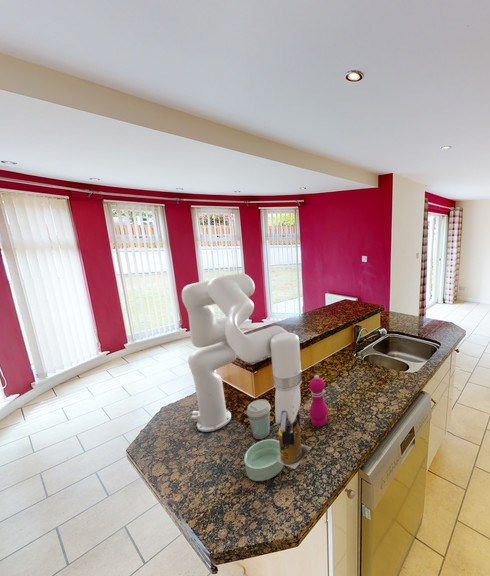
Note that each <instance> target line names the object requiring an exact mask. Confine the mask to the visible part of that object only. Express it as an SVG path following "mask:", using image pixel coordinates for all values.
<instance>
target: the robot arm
mask: <svg viewBox="0 0 490 576" xmlns="http://www.w3.org/2000/svg"><path fill="white" fill-rule="evenodd" d="M255 289H256V286H255V283H254V280H253V279H252V277H251V276H250V275H248V274H246V273H243V272H241V273H233V274H227V275H219V276H217V277H214V278H212V279H211V280H205V281H197V282H194V283H193V282H192V283H191V284H190V283H189V284H187V285H185V286H183V289H182V290H181V301H182V303H183V305H184V307H185V309H186V311H187V315H188V324H189V334H190V341H191V344H192V345H193V347H195V348H199V349H197V350H194V351H193V352H191V354H190V355H189V356H188V359H187V363H188V366H189V369H190V371H191V375H192V378H193V383H194V388H195V394H196V401H197V406H198V410H193V411H191V420H197V422H196V428H197V430H199V431H200V432H202V433H203V432H204V433H209V432H214V431H217V430H219V429H220V430H221V429H222V428H223V427H225V426H227V424H228V423H229V422H230V421H231V419H232V413H231V411H229V410H228V409H227V405H226V398H225V393H224V392H225V391H224V384H223V378H222V377H221V375H219V374H218V373H216V372H215V371H216V370H218V369H220V368H222V367H225V366H227V365H231V364H232V363H234V362H235V361H236V360H237V358H239V359H240V360H241V361H243V362H245V363H248V364H249V363H255V362H257V361H260V360H262V359H264V358H267V357H269V356H270V357H271V368H272V377H273V387H274V388H275V391H274V392H275V394H274V410H275V411H274V415H275V423H276V424H278V425H279V424H280V421H281V427H280V432H281V433H282V441H283V444H284V445H294V443H295V440H294V431H293V422H294V421H295V418H296V417H297V419H298V425H299V427H300V428H301V415H300V408H301V407H300V406H301V402H302V400H301V399H302V397H301V385H302V383H303V377H302V363H301V346H300V338H299V336H298V335H297V334H296V333H294V332H288V331H287V330H286V329H284V327H281V326H279V325H272V326H269V327H266V328H263V329H260V330H256V331H254V332H251V333H248V334H245V333H244V332H243V330H241V328H240V326H242V324H243V323H244V322H245V321H247V320H248V319H249V318H250V317H251V315H252V314H253V312H254V309H255V304H254V302H253V301H252V300H251V298H250V297H252V295H253V294H254V293H255ZM212 305H216V306H217V307H218V308H219V309H220V310H221V312H222V313H223V314H224V315H225V316H219V317H216V314H215V313H216V312H215V309H214V307H213V306H212ZM287 418H288V419H289V420H287ZM287 424H290V428H287V427H286V425H287Z"/></svg>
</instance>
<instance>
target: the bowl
mask: <svg viewBox="0 0 490 576" xmlns="http://www.w3.org/2000/svg"><path fill="white" fill-rule="evenodd" d="M279 455H280V444H279V439H278V440H277V439H274V438H268V439H262V440H260V441H258V442H255V443H254V444H253V445H251V446H250V447H249V448H248V449H247V450H246V452H245V454H244V456H243V462H244V470H245V474H246V476H247V477H248V478H249V479H250V480H252V481H255V482H263V481H267V480H270V479H272V478H274V477H276V476H277V475H278V474H279V473H280V472H281V471H282V470H283V469H284V467H285V465H283V464H281V463H279V462H277V461H274V460H275V459H276V458H277V457H278V456H279Z"/></svg>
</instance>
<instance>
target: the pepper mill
mask: <svg viewBox="0 0 490 576" xmlns="http://www.w3.org/2000/svg"><path fill="white" fill-rule="evenodd" d="M325 386H326V383H325V381H324V379H323V378H321V377H320V376H319V375H318V374H315V375H314V377H313V378H312V379H311V380H310V381H309V385H308V387H309V389H310V395H311V396H312V403H311V404H310V407H309V416H310V420H311V421H310V422H311V425H312V426H314V427H322V426H324V425H326V424H327V422H328V414H329V409H328V406H327V405H328V404H327V403H326V402H325V400H324V395H325Z"/></svg>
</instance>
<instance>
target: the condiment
mask: <svg viewBox="0 0 490 576" xmlns="http://www.w3.org/2000/svg"><path fill="white" fill-rule="evenodd" d="M287 420H289V419H288V418H287ZM278 425H279V427H278V441H279V444H280V455H279V456H278V457H277V458H276V459H275V460H274V461H277V462H279V463H281V464H283V465H284V466H285V467H289V468H292V469H294V470H295V469H296V468H297V467H299V466H300V463H301V462H302V461H304V458H305V457H306V456H307V454H308V453H309V452H310V450H311V449H312V448H313V447H312V446H308V445H305V444H303V443H302V440H301V439H302V437H301V426H300V427H299V425H298V419H297V417H296V418H295V421H294V422H293V431H294V440H295V443H294V445H284V444H283V441H282V433H281V432H280V427H281V421H280V424H278ZM286 427H287V428H290V424H287V425H286Z"/></svg>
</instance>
